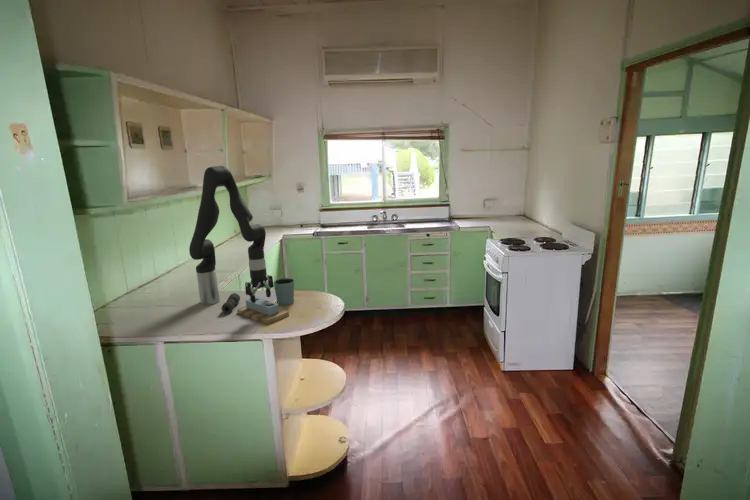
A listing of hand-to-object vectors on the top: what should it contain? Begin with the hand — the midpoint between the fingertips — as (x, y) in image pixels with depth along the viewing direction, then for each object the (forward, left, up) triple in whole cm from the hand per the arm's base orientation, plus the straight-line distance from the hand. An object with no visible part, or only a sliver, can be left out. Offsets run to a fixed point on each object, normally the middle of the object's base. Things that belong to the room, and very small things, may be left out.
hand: (261, 299), depth 195 cm
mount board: (0, 0, -7) cm, 7 cm away
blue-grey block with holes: (0, 0, -5) cm, 5 cm away
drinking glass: (-2, +16, -8) cm, 18 cm away
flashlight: (-21, -3, -8) cm, 23 cm away
